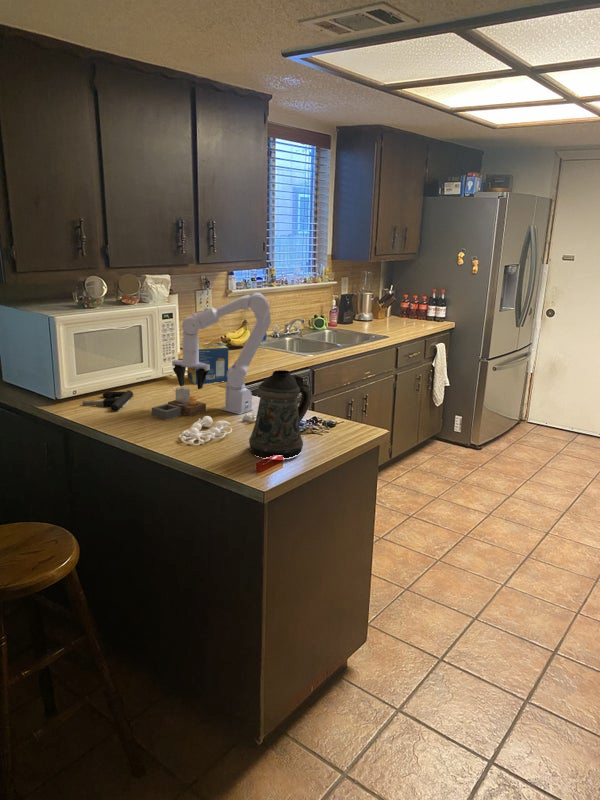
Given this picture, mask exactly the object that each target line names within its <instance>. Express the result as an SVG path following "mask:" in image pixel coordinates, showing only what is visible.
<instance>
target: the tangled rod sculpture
mask: <svg viewBox="0 0 600 800" xmlns="http://www.w3.org/2000/svg"><path fill="white" fill-rule="evenodd" d="M213 421H214V420H213V418H212V417H211V416H210V415H205V416H203V417H202V418H198V420H197V421H195V422H194V423H193V424H192V425H191V426H190V427H189V428H188V429H185V430H184V431H182V432H181V434H179V435H178V437H179V439H180V440H181V442H183V443H185V444H188V445H189V444H190V445H189V446H193V445H194V446H201V445H200V444H203V445H204V443H206V442H209V441H210V440H211V439H213V440H221V439H223V438H225V436H226V435H228V434H229V435H230V434H231V433H232V432H233V428H232V427H231V423H230V422H229V421H226V420H219V421H216V422H215V424H214V425H213V423H214V422H213ZM212 425H213V426H212ZM202 426H203V427H205V428H209V427H210V428H209V429H207V430H202ZM211 426H212V427H211ZM226 428H227V429H229V430H230V431H228V432H227V431H226V430H225V429H226ZM220 435H222V436H220ZM201 438H203V439H201ZM204 439H205V440H204ZM186 440H188V441H186ZM197 440H198V443H194V442H195V441H197ZM191 444H193V445H191Z"/></svg>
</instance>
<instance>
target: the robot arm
mask: <svg viewBox="0 0 600 800" xmlns="http://www.w3.org/2000/svg"><path fill="white" fill-rule="evenodd" d="M249 308H250V309H251V310H252V312H253V313H254V316H255V319H256V321H255V324H254V326H253V327H252V330H251V332H250V333H249V336H248V337H247V339H246V341H245V342H244V343H245V344H244V346H243V348H242V349H241V352H240V353H239V355H238V357H237V359H236V360H235V362H234V363H233V364H232V366H231V367H228V371H227V381H228V382H226V384H225V402H224V403H225V406H223V407H220V409H219V410H221V411H226V412H229V413H234V414H237V415H241V414H245V413H247V412H251V411H253V410H254V409H253V408H252V405H253V400H252V399H253V394H252V391H251V389H248V388H247V387H246V384H245V381H246V375H247V373H248V370H249V366H250V364H251V362H252V360H253V358H254V357H255V355H256V352H257V351H258V349H259V348H260V345H261V343H262V341H263V340H264V337H265V335H266V334H267V332H268V330H269V328H270V326H271V323H272V319H271V310H270V304H269V301H268V300H267V298H266V296H265V295H264V294H262V293H261V292H259V291H258V292H257V291H255V292H252V293H251V294H246V295H243V296H239V297H238V298H236V299H234V300H231V301H230V302H228V303H226V304H223V305H222V306H219V307H217V308H214V307H212V306H211V307H208V306H207V307H204V310H202V311H200V312H198V313H195V312H194V313H192V314H191V315H190V316H186V317H185V318H184V319H183V321H182V324H181V329H182V359H173V360H172V361H171V365H172V367H173V368H172V370H173V372H174V374H175V376H176V379H177V381H178V385H179V387H185V382H186V381H185V374H186V369H187V367H188V368H195V369H199V370H197V371H196V374H197V381H198V384H197V389H198V390H201V389H203V386H204V384H203V383H204V380H205V377H206V375H207V373H208V371H209V370H210V364H205V363H201V362H199V344H200V343H199V342H200V341H199V339H200V338H199V336H198V334H199V330H203V329H205V328H208V327H210V326H212V325H214V324H217V323H219V320H220V318H221V317H224V316H226V315H227V316H228V315H229V314H232V313H234V312H236V311H239V310H243V311H250V309H249Z"/></svg>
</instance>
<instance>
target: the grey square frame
mask: <svg viewBox="0 0 600 800" xmlns="http://www.w3.org/2000/svg"><path fill="white" fill-rule="evenodd" d="M151 416H152V417H153V418H158V419H160V420H161V419H162V420H164V421H168V420H171V418H172V419H173V418H174V417H175V418H178V417H181V416H182V414H181V407H178V406H174V405H171V404H168V403H164V404H160V405H156V406H153V407H151ZM175 418H174V419H175Z"/></svg>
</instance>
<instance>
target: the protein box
mask: <svg viewBox="0 0 600 800" xmlns="http://www.w3.org/2000/svg"><path fill="white" fill-rule="evenodd" d="M199 362H201V363H205V364H210V370H209V371H208V373H207V375H206V377H205V380H204V383H203V385H205V384H207V383H208V384H215V383H214V382H219V383H228V381H227V371H228V369H229V347H228V346H226V345H224V344H222V343H220V342H213V343H212V342H210V343H199ZM186 369H187V380H188V381H190V382H191V383H192V384H194V385H198V381H197V374H196V371H197V370H199V369H195V368H188V367H186ZM222 381H224V382H222Z"/></svg>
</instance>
